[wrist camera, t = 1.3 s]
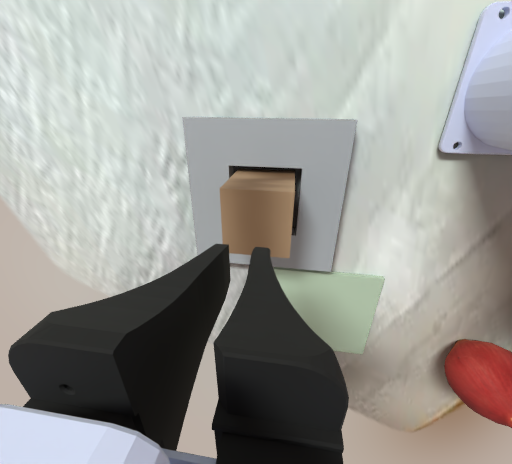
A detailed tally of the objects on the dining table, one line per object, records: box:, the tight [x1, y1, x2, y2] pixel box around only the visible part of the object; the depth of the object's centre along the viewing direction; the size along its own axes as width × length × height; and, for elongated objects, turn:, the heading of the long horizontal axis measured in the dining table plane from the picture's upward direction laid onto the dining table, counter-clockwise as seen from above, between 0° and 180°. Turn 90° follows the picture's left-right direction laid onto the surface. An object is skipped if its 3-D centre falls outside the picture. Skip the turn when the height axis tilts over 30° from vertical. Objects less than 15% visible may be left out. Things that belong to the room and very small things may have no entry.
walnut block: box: [220, 168, 295, 258], centre depth 18 cm, size 4×4×6 cm
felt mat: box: [274, 267, 385, 354], centre depth 25 cm, size 10×10×1 cm
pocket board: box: [182, 117, 357, 272], centre depth 20 cm, size 12×12×2 cm
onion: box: [445, 339, 512, 428], centre depth 21 cm, size 6×6×8 cm
